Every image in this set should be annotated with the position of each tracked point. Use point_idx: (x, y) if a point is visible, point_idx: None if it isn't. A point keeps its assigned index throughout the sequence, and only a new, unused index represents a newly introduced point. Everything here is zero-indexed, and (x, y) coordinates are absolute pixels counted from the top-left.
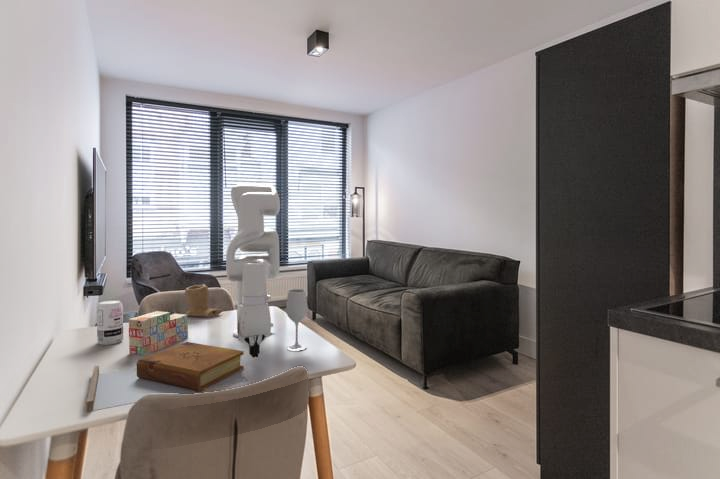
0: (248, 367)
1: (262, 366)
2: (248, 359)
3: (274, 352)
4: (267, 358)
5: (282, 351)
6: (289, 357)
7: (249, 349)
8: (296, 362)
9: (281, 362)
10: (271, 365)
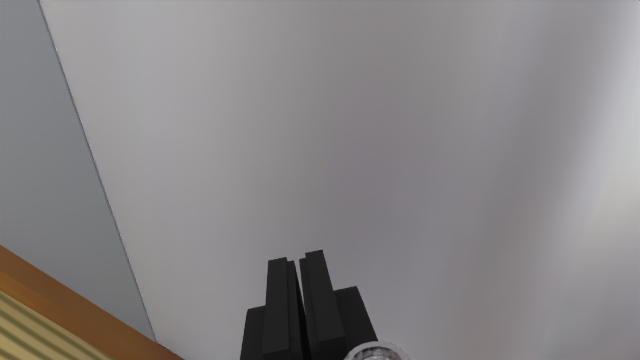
0: None
1: None
2: (253, 160)
3: (530, 31)
4: (426, 187)
5: (608, 28)
6: (599, 218)
7: (245, 348)
8: (600, 335)
9: (505, 309)
10: (420, 350)
